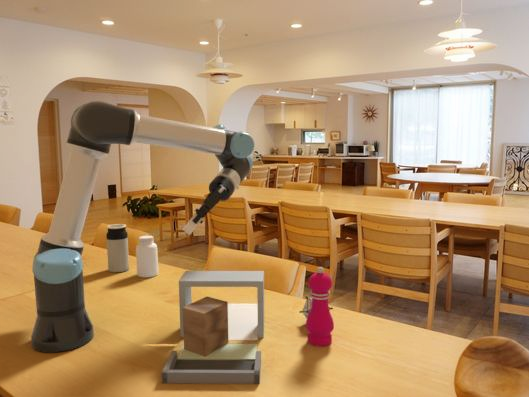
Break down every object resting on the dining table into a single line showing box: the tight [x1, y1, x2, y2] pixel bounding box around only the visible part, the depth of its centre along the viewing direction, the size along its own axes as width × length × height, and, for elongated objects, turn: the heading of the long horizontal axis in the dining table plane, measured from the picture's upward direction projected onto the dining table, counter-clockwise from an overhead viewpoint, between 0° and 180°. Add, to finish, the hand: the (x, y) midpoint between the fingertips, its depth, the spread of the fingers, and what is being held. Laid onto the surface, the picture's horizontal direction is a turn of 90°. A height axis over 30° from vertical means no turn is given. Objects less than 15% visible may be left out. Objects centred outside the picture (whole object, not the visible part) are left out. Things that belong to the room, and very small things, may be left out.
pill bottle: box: [135, 235, 159, 279], centre depth 178 cm, size 8×8×15 cm
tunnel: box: [178, 270, 265, 341], centre depth 133 cm, size 26×22×16 cm
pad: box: [177, 343, 258, 360], centre depth 118 cm, size 12×19×1 cm, turn 89°
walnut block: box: [183, 296, 229, 357], centre depth 118 cm, size 9×7×11 cm
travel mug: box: [105, 223, 130, 274], centre depth 185 cm, size 8×8×18 cm
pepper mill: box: [305, 266, 335, 347], centre depth 121 cm, size 7×7×20 cm
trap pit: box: [161, 350, 262, 385], centre depth 107 cm, size 10×21×2 cm, turn 89°
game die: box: [299, 295, 334, 319], centre depth 133 cm, size 9×8×10 cm
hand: (186, 230), depth 130 cm, fingers closed
